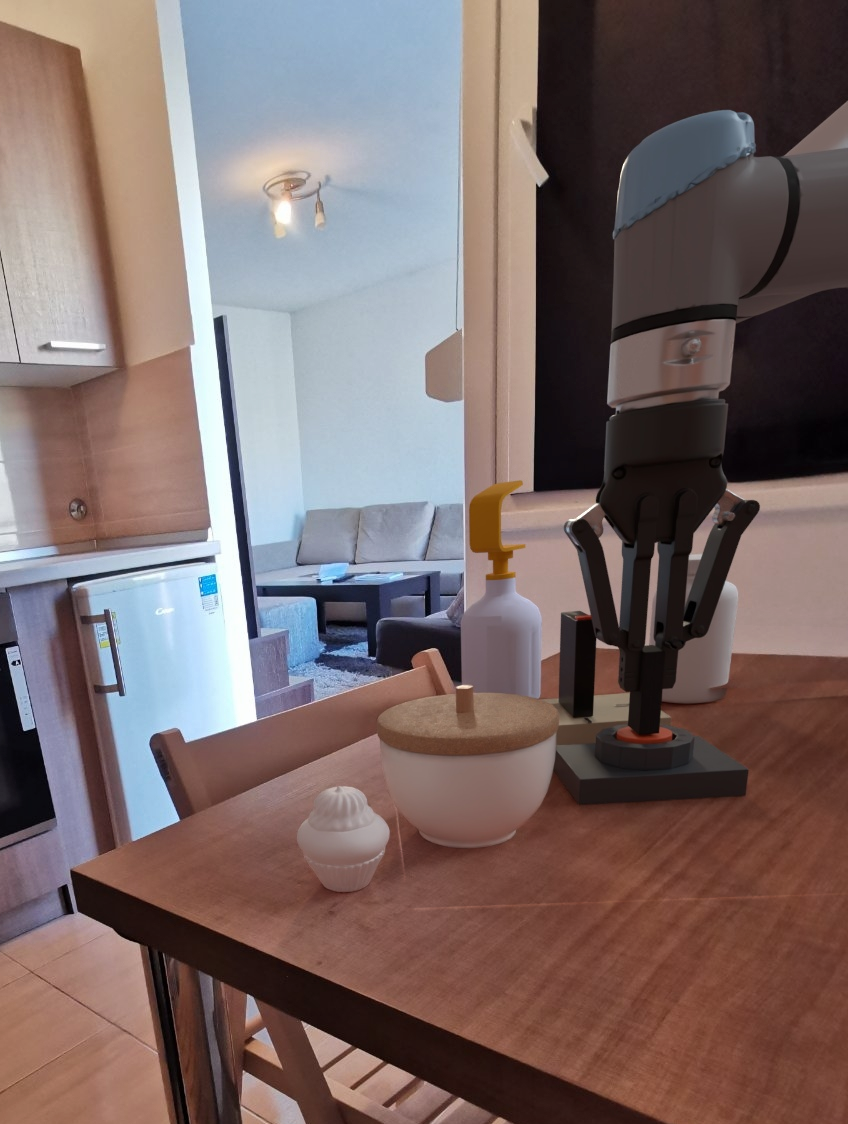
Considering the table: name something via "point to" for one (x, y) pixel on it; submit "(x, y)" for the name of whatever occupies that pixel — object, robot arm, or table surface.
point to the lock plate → (595, 719)
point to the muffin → (343, 839)
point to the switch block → (648, 769)
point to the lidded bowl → (468, 763)
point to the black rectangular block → (577, 663)
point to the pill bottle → (704, 649)
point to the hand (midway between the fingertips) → (643, 729)
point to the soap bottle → (499, 611)
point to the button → (644, 736)
